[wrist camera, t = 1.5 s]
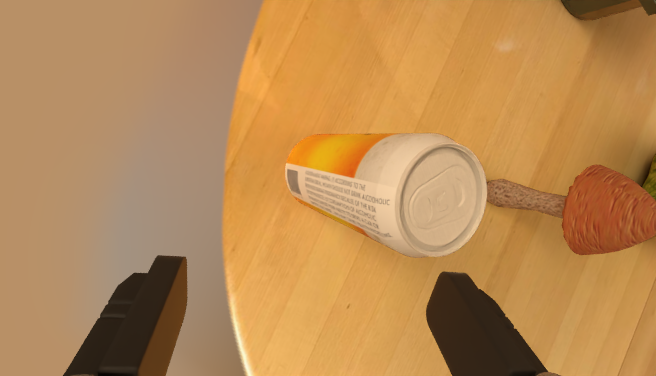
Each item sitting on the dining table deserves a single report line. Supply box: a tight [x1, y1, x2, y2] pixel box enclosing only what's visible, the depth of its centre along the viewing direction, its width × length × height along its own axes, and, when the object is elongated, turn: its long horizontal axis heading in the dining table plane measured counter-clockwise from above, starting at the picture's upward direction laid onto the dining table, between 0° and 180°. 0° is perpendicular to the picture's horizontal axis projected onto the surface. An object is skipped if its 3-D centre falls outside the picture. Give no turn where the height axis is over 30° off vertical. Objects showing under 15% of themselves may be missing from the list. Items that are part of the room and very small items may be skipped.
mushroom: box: [487, 165, 656, 255], centre depth 32 cm, size 8×8×15 cm
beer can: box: [285, 133, 487, 258], centre depth 22 cm, size 6×6×15 cm
